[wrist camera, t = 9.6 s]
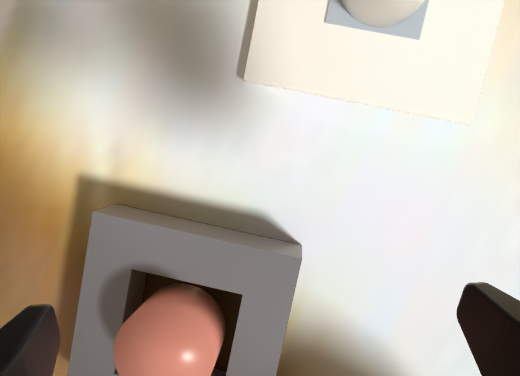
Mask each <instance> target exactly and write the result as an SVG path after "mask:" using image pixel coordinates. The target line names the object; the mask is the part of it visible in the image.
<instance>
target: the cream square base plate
mask: <svg viewBox="0 0 520 376" xmlns="http://www.w3.org/2000/svg"><path fill="white" fill-rule="evenodd" d="M504 3H505V0H425V1H424V2H423V3H422V4H421V6H420V7H419V8H418V9H417V10H416V11H415V12H414V13H413V14H412V15H411V16H410V17H409V18H408V19H406V20H405V21H403V22H401V23H399V24H396V25H394V26H390V27H371V26H368V25H365V24H362V23H361V22H359V21H357V20H356V19H355V18H353V17H352V16H351V15H350V14H349V13H348V11H347V10H346V9H345V7H344V5H343V3H342V0H259V1H258V7H257V12H256V17H255V22H254V27H253V32H252V38H251V43H250V48H249V53H248V58H247V63H246V69H245V74H244V79H243V80H244V81H245V82H250V83H255V84H260V85H265V86H270V87H275V88H281V89H286V90H291V91H296V92H301V93H306V94H311V95H316V96H321V97H326V98H332V99H337V100H342V101H347V102H352V103H357V104H362V105H367V106H372V107H378V108H383V109H388V110H393V111H398V112H403V113H408V114H413V115H418V116H423V117H429V118H434V119H439V120H444V121H449V122H454V123H459V124H464V125H472V124H473V120H474V116H475V112H476V109H477V105H478V101H479V97H480V94H481V90H482V86H483V82H484V78H485V75H486V71H487V67H488V63H489V59H490V56H491V52H492V48H493V44H494V41H495V37H496V33H497V29H498V25H499V22H500V18H501V14H502V10H503V6H504Z"/></svg>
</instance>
